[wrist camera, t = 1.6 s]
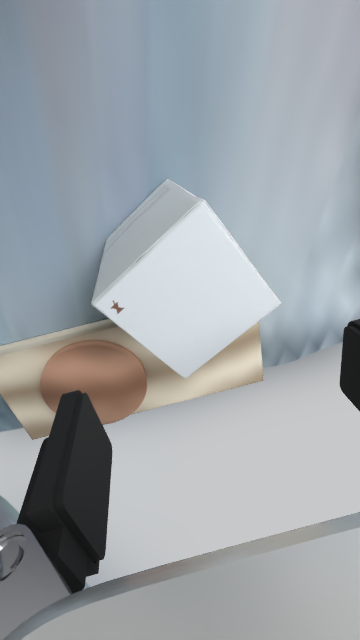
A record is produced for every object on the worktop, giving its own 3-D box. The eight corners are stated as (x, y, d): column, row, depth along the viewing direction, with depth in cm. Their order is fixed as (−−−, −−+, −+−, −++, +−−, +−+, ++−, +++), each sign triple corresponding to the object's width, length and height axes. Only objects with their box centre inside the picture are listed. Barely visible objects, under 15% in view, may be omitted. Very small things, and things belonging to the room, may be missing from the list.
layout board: (-14, 348, 29) (-28, 368, 26) (249, 283, 29) (260, 296, 27) (37, 425, 34) (29, 447, 32) (256, 369, 35) (266, 386, 32)
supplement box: (162, 295, 29) (182, 384, 18) (104, 238, 25) (83, 304, 14) (223, 243, 27) (286, 306, 16) (169, 174, 24) (202, 195, 13)
